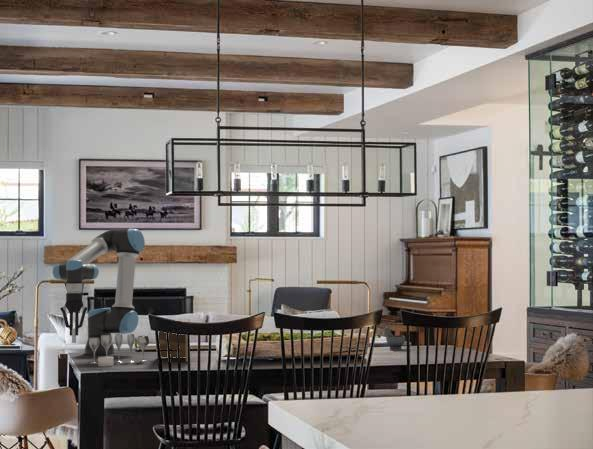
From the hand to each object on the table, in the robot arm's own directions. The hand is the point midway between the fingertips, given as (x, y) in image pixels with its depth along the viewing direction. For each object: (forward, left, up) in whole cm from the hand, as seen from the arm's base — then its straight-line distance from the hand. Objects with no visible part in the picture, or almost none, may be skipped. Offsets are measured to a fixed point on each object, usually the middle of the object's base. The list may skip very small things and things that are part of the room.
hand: (73, 342), depth 451 cm
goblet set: (0, +21, -10) cm, 23 cm away
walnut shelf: (0, +46, -10) cm, 47 cm away
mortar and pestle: (-34, +160, -10) cm, 164 cm away
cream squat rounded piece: (+13, +16, -10) cm, 23 cm away
